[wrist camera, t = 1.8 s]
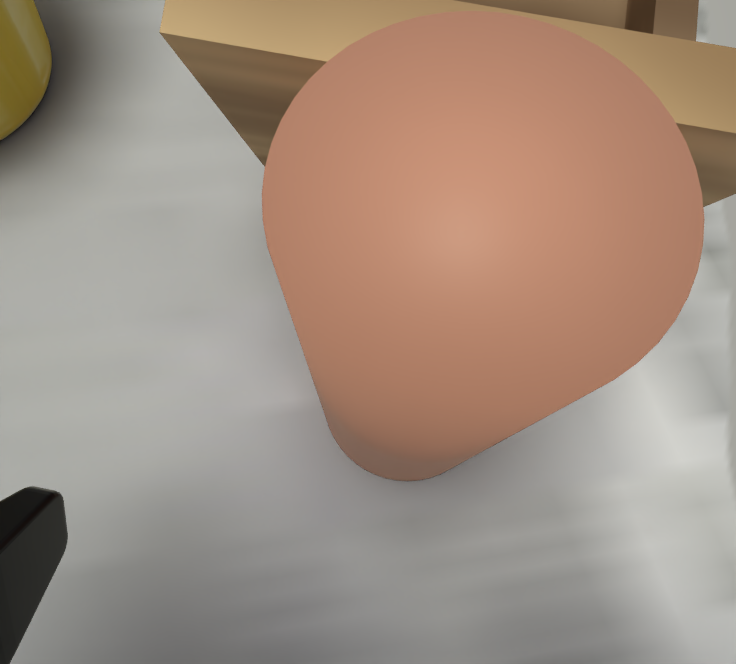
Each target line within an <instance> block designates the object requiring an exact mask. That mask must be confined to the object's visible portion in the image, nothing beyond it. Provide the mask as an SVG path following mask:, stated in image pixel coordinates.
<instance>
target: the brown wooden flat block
mask: <svg viewBox="0 0 736 664" xmlns="http://www.w3.org/2000/svg"><path fill="white" fill-rule="evenodd" d="M456 11H486V12H500V13H506V14H512V15H518V16H524V17H528V18H531V19H535V20H539V21H542V22H546V23H549V24H552V25H555V26H557V27H560V28H562V29H565V30H567V31H570V32H572V33H575V34H577V35H578V36H580V37H582V38H584V39H586V40H588V41H590V42H592V43H594V44H595V45H597V46H599V47H600V48H602V49H603V50H605V51H606V52H608V53H609V54H611V55H612V56H614V57H615V58H617V59H618V60H620V61H621V62H622V63H623V64H624V65H626V66H627V67H628V68H629V69H630V70H631V71H633V72H634V73H635V74H636V75H637V76H638V77H640V78H641V79H642V81H643V82H644V83H645V84H646V85H647V86H648V87H649V88H650V89H651V90H652V91H653V93H654V94H655V95H656V96H657V97H658V98H659V99H660V101H661V102H662V104H663V105H664V106H665V108H666V109H667V111H668V112H669V113H670V115H671V116H672V117H673V119H674V121H675V122H676V124H677V126H678V128H679V130H680V132H681V133H682V135H683V137H684V139H685V141H686V143H687V145H688V148H689V151H690V153H691V156H692V158H693V161H694V164H695V166H696V170H697V174H698V178H699V183H700V187H701V191H702V199H703V207H705V206H707V205H710V204H712V203H714V202H717V201H719V200H722V199H724V198H727V197H729V196H731V195H733V194H736V48H732V47H726V46H719V45H714V44H708V43H702V42H696V41H691V40H685V39H679V38H673V37H667V36H661V35H655V34H649V33H643V32H637V31H632V30H626V29H620V28H614V27H608V26H602V25H596V24H590V23H584V22H579V21H573V20H567V19H561V18H555V17H549V16H543V15H537V14H531V13H525V12H520V11H514V10H508V9H502V8H496V7H490V6H484V5H478V4H472V3H467V2H461V1H455V0H165V6H164V11H163V16H162V22H161V27H160V34H161V35H162V36H163V37H164V39H165V40H166V41H167V43H168V44H169V45H170V46H171V48H172V49H173V50H174V51H175V53H176V54H177V55H178V57H179V58H180V59H181V60H182V62H183V63H184V64H185V66H186V67H187V68H188V69H189V71H190V72H191V73H192V74H193V76H194V77H195V78H196V80H197V81H198V82H199V83H200V85H201V86H202V87H203V89H204V90H205V91H206V92H207V94H208V95H209V96H210V97H211V99H212V100H213V101H214V103H215V104H216V105H217V106H218V108H219V109H220V110H221V111H222V113H223V114H224V115H225V117H226V118H227V119H228V120H229V122H230V123H231V124H232V126H233V127H234V128H235V129H236V131H237V132H238V133H239V134H240V136H241V137H242V138H243V140H244V141H245V142H246V143H247V145H248V146H249V147H250V149H251V150H252V151H253V152H254V154H255V155H256V156H257V157H258V159H259V160H260V161H261V163H262V164H263V165H264V166H265V165H266V161H267V158H268V154H269V150H270V146H271V143H272V140H273V138H274V135H275V133H276V131H277V128H278V126H279V124H280V121H281V119H282V117H283V116H284V114H285V112H286V111H287V109H288V107H289V106H290V104H291V102H292V101H293V99H294V97H295V96H296V95H297V94H298V92H299V91H300V90H301V89H302V87H303V86H304V85H305V84H306V82H307V81H308V80H309V79H310V78H311V77H312V76H313V75H314V74H315V73H316V72H317V71H318V70H319V69H320V68H321V67H322V66H323V65H324V64H325V63H326V62H327V61H329V60H330V59H331V58H333V57H334V56H335V55H337V54H338V53H339V52H341V51H342V50H343V49H345V48H346V47H347V46H349V45H351V44H353V43H354V42H356V41H358V40H360V39H361V38H363V37H365V36H367V35H369V34H370V33H373V32H375V31H377V30H380V29H382V28H385V27H387V26H389V25H392V24H394V23H398V22H401V21H405V20H408V19H412V18H415V17H419V16H425V15H431V14H437V13H443V12H456Z"/></svg>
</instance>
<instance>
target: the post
mask: <svg viewBox="0 0 736 664" xmlns="http://www.w3.org/2000/svg"><path fill="white" fill-rule="evenodd" d="M262 210H263V224H264V229H265V235H266V240H267V246H268V249H269V252H270V255H271V258H272V261H273V264H274V267H275V270H276V273H277V276H278V279H279V282H280V285H281V288H282V291H283V294H284V297H285V300H286V303H287V306H288V308H289V311H290V314H291V317H292V320H293V323H294V326H295V329H296V332H297V335H298V338H299V341H300V343H301V346H302V349H303V352H304V355H305V358H306V361H307V364H308V367H309V370H310V373H311V376H312V378H313V381H314V384H315V387H316V390H317V393H318V396H319V399H320V402H321V405H322V408H323V411H324V413H325V416H326V419H327V422H328V425H329V428H330V430H331V433H332V435H333V437H334V439H335V440H336V442H337V443H338V445H339V446H340V448H341V449H342V450H343V451H344V452H345V454H346V455H347V456H348V457H349V458H350V459H351V460H353V461H354V462H355V463H356V464H357V465H359V466H360V467H362V468H363V469H365V470H367V471H369V472H371V473H373V474H375V475H378V476H381V477H384V478H387V479H392V480H398V481H416V480H423V479H427V478H431V477H434V476H437V475H439V474H442V473H443V472H445V471H447V470H449V469H451V468H453V467H455V466H457V465H458V464H460V463H462V462H464V461H466V460H468V459H469V458H471V457H473V456H475V455H477V454H479V453H480V452H482V451H484V450H486V449H488V448H490V447H491V446H493V445H495V444H497V443H499V442H501V441H502V440H504V439H506V438H508V437H510V436H512V435H514V434H515V433H517V432H519V431H521V430H523V429H525V428H526V427H528V426H530V425H532V424H534V423H536V422H537V421H539V420H541V419H543V418H545V417H547V416H548V415H550V414H552V413H554V412H556V411H558V410H559V409H561V408H563V407H565V406H567V405H569V404H570V403H572V402H574V401H576V400H578V399H580V398H581V397H583V396H585V395H587V394H589V393H591V392H592V391H594V390H596V389H598V388H600V387H602V386H603V385H605V384H607V383H609V382H611V381H613V380H614V379H616V378H617V377H619V376H620V375H621V374H623V373H624V372H625V371H627V370H628V369H630V368H631V367H632V366H634V365H635V364H637V363H638V362H639V361H640V360H641V359H642V358H643V357H644V356H645V355H646V354H647V353H648V352H649V351H650V350H651V349H652V348H653V347H654V346H655V345H656V344H657V343H658V342H659V341H660V340H661V339H662V337H663V336H664V335H665V333H666V332H667V331H668V329H669V328H670V327H671V325H672V324H673V323H674V321H675V320H676V318H677V316H678V315H679V313H680V311H681V309H682V307H683V305H684V304H685V302H686V300H687V298H688V296H689V293H690V291H691V288H692V285H693V282H694V280H695V277H696V274H697V271H698V267H699V262H700V257H701V252H702V247H703V234H704V210H703V199H702V191H701V187H700V183H699V178H698V174H697V170H696V166H695V164H694V161H693V158H692V156H691V153H690V151H689V148H688V145H687V143H686V141H685V139H684V137H683V135H682V133H681V132H680V130H679V128H678V126H677V124H676V122H675V121H674V119H673V117H672V116H671V115H670V113H669V112H668V111H667V109H666V108H665V106H664V105H663V104H662V102H661V101H660V99H659V98H658V97H657V96H656V95H655V94H654V93H653V91H652V90H651V89H650V88H649V87H648V86H647V85H646V84H645V83H644V82H643V81H642V79H641V78H640V77H638V76H637V75H636V74H635V73H634V72H633V71H631V70H630V69H629V68H628V67H627V66H626V65H624V64H623V63H622V62H621V61H620V60H618V59H617V58H615V57H614V56H612V55H611V54H609V53H608V52H606V51H605V50H603V49H602V48H600V47H599V46H597V45H595V44H594V43H592V42H590V41H588V40H586V39H584V38H582V37H580V36H578V35H577V34H575V33H572V32H570V31H567V30H565V29H562V28H560V27H557V26H555V25H552V24H549V23H546V22H542V21H539V20H535V19H531V18H528V17H524V16H518V15H512V14H506V13H500V12H486V11H456V12H443V13H437V14H431V15H425V16H419V17H415V18H412V19H408V20H405V21H401V22H398V23H394V24H392V25H389V26H387V27H385V28H382V29H380V30H377V31H375V32H373V33H370V34H369V35H367V36H365V37H363V38H361V39H360V40H358V41H356V42H354V43H353V44H351V45H349V46H347V47H346V48H345V49H343V50H342V51H341V52H339V53H338V54H337V55H335V56H334V57H333V58H331V59H330V60H329V61H327V62H326V63H325V64H324V65H323V66H322V67H321V68H320V69H319V70H318V71H317V72H316V73H315V74H314V75H313V76H312V77H311V78H310V79H309V80H308V81H307V82H306V84H305V85H304V86H303V87H302V89H301V90H300V91H299V92H298V94H297V95H296V96H295V97H294V99H293V101H292V102H291V104H290V106H289V107H288V109H287V111H286V112H285V114H284V116H283V117H282V119H281V121H280V124H279V126H278V128H277V131H276V133H275V135H274V138H273V140H272V143H271V146H270V150H269V154H268V158H267V161H266V165H265V171H264V180H263V189H262Z"/></svg>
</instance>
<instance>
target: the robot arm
mask: <svg viewBox="0 0 736 664" xmlns="http://www.w3.org/2000/svg"><path fill="white" fill-rule="evenodd" d="M67 539H68V533H67V525H66V516H65V508H64V501H63V497H62V495H61V494H60V493H59V492H57V491H54V490H49V489H44V488H39V487H27V488H24V489H22V490H20V491H18V492H16V493H14V494H12V495H11V496H9V497H7V498H5V499H3V500H2V501H0V664H10V662H11V660H12V658H13V656H14V654H15V652H16V650H17V648H18V646H19V644H20V642H21V640H22V638H23V636H24V634H25V632H26V630H27V628H28V626H29V624H30V622H31V620H32V618H33V616H34V613H35V611H36V609H37V607H38V605H39V603H40V601H41V599H42V597H43V595H44V593H45V591H46V589H47V587H48V585H49V583H50V581H51V579H52V577H53V575H54V573H55V571H56V569H57V567H58V565H59V563H60V560H61V558H62V556H63V554H64V552H65V549H66V545H67Z"/></svg>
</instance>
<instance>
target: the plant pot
mask: <svg viewBox="0 0 736 664" xmlns="http://www.w3.org/2000/svg"><path fill="white" fill-rule="evenodd" d="M51 65H52V57H51V49H50V44H49V40H48V38H47V35H46V32H45V29H44V27H43V24H42V21H41V19H40V16H39V13H38V11H37V8H36V6H35V3H34V0H0V140H2V139H4V138H5V137H7V136H8V135H9V134H11V133H12V132H13V131H15V130H16V129H17V128H18V127H20V126H21V125H22V124H23V123H24V122H25V121H26V120H27V119H28V118H29V117H30V115H31V114H32V113H33V111H34V110H35V109H36V107H37V106H38V104H39V103H40V101H41V100H42V98H43V96H44V94H45V91H46V89H47V86H48V83H49V79H50V74H51Z"/></svg>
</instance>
